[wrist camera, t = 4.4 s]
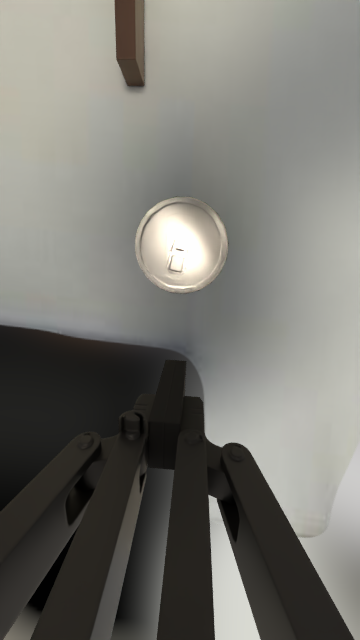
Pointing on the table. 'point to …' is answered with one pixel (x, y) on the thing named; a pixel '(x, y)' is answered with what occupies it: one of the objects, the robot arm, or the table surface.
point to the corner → (130, 40)
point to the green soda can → (181, 245)
